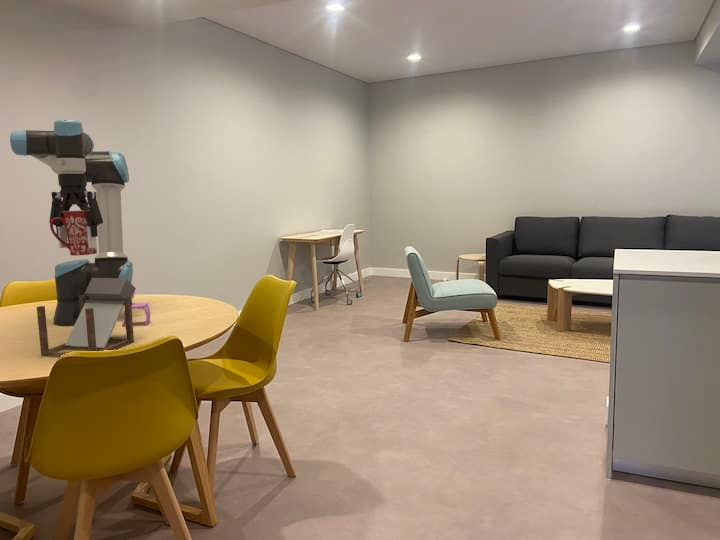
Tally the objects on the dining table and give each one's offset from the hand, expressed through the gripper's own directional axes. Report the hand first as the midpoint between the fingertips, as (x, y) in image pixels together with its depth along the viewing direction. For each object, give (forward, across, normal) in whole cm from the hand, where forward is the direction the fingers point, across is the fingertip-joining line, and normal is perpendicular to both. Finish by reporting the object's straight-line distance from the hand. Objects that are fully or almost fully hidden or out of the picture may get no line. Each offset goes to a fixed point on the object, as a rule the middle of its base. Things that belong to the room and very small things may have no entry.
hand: (78, 247), depth 165 cm
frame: (+32, 0, +1) cm, 32 cm away
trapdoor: (+24, 0, +9) cm, 26 cm away
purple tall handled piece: (+32, -5, +32) cm, 46 cm away
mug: (+2, 0, 0) cm, 2 cm away
